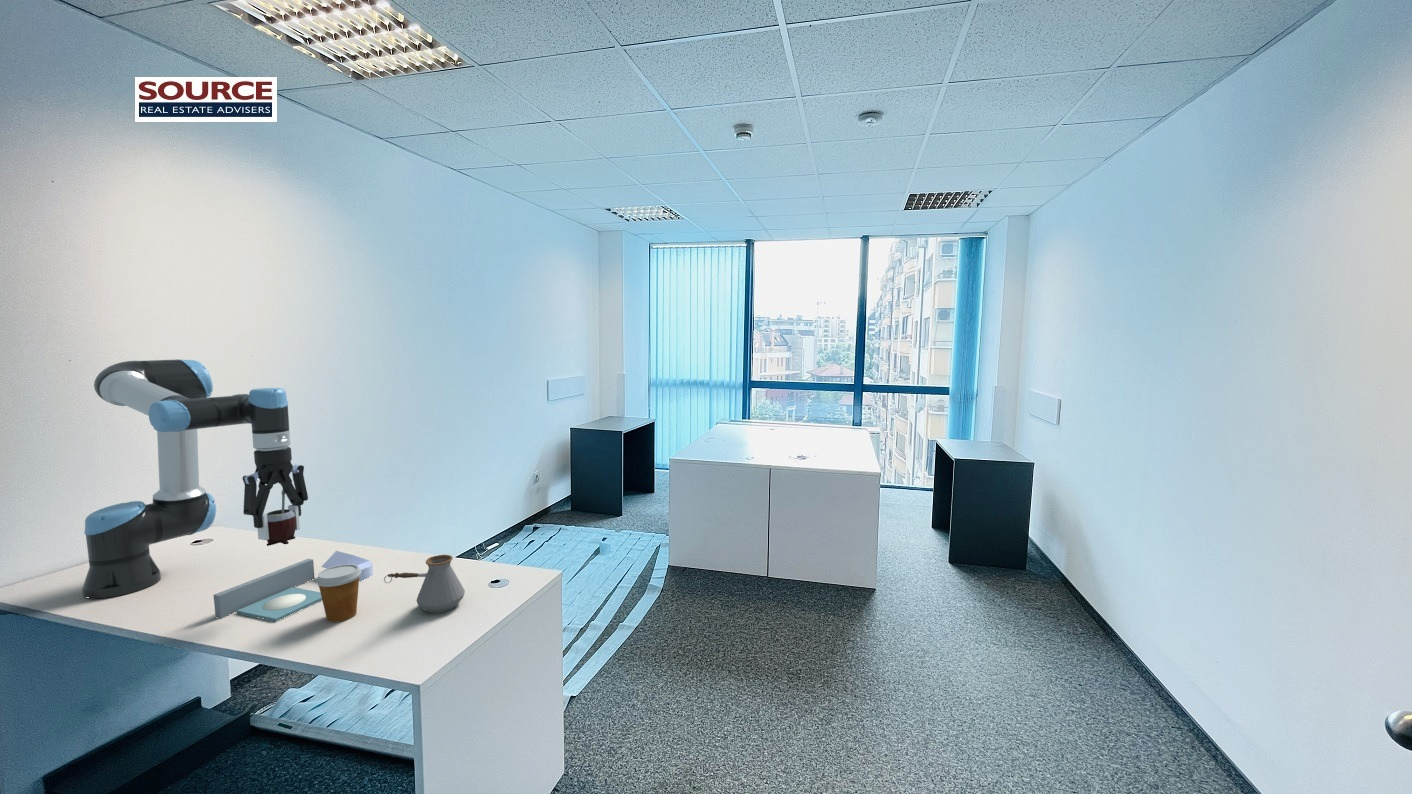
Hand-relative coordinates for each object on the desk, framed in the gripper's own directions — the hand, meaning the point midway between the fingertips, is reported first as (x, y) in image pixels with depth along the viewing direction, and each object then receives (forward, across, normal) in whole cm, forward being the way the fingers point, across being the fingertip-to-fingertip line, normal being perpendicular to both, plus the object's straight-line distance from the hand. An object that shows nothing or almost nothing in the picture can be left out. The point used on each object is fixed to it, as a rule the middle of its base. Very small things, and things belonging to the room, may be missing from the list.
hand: (279, 534), depth 141 cm
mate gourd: (+2, 0, 0) cm, 2 cm away
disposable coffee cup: (+20, 0, -20) cm, 28 cm away
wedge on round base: (+20, +19, 0) cm, 27 cm away
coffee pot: (+20, +7, -40) cm, 45 cm away
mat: (+19, 0, 0) cm, 19 cm away
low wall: (+19, +2, +9) cm, 22 cm away
